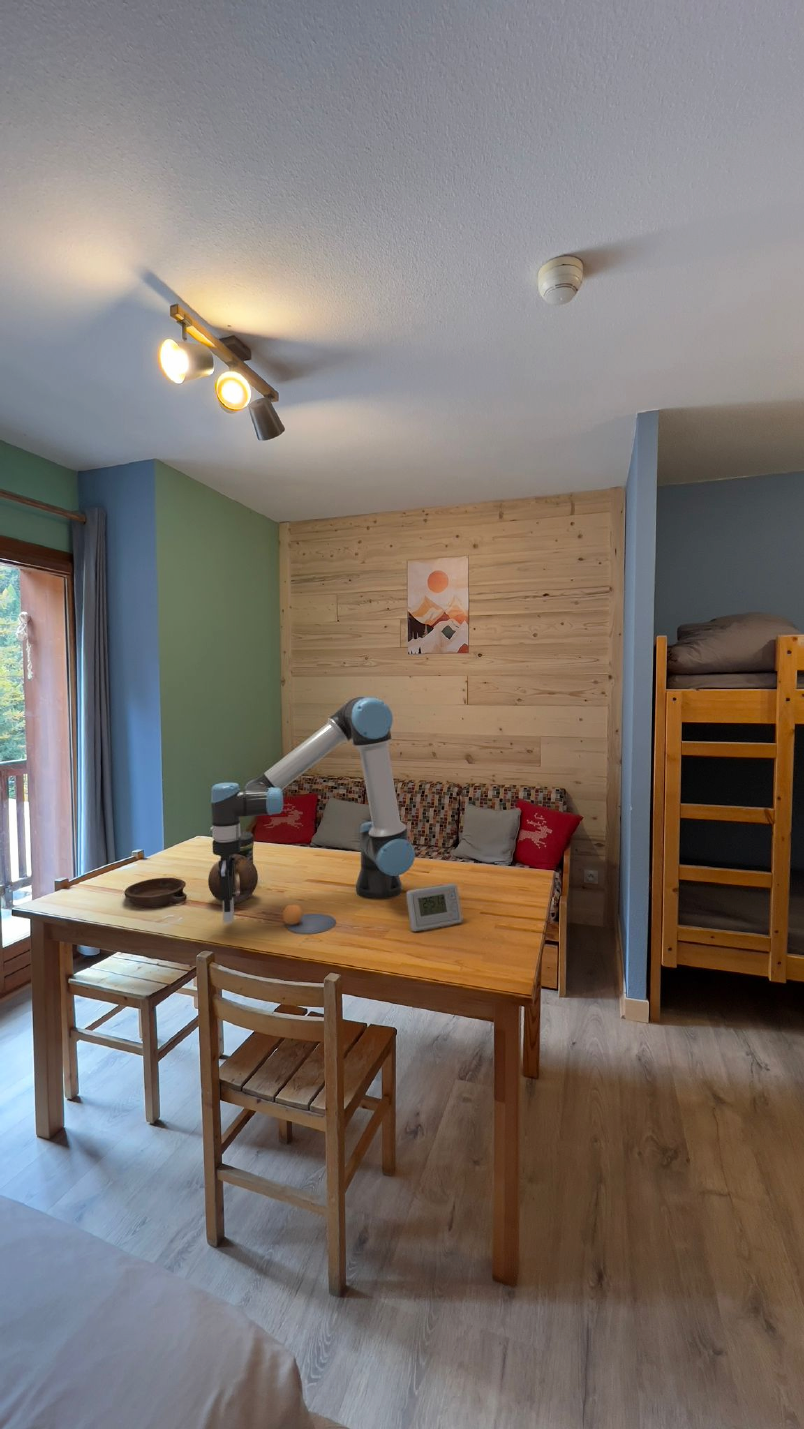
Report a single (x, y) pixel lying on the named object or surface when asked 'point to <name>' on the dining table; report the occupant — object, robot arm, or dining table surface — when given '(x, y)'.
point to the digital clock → (433, 907)
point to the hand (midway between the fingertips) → (228, 921)
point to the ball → (292, 914)
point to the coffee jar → (246, 845)
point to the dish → (156, 892)
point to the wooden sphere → (236, 879)
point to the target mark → (312, 924)
